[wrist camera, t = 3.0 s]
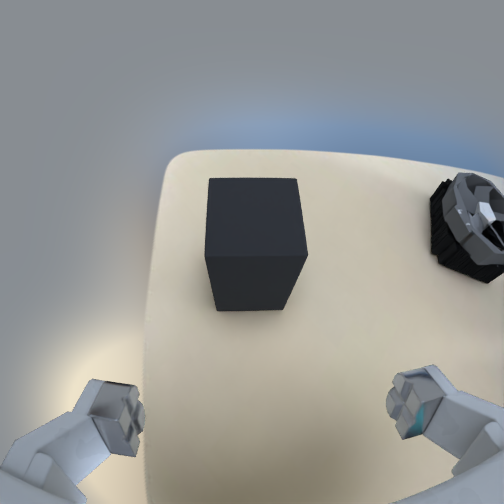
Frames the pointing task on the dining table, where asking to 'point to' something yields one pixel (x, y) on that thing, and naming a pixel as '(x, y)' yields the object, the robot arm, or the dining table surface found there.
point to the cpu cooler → (469, 226)
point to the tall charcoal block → (254, 242)
